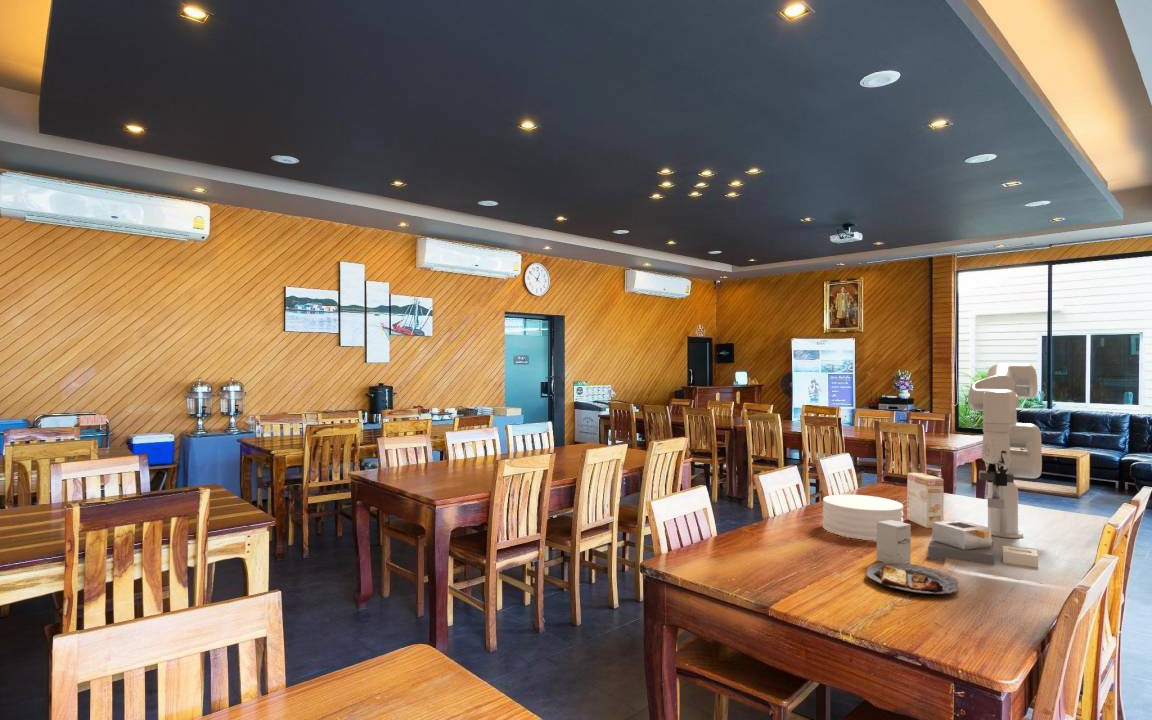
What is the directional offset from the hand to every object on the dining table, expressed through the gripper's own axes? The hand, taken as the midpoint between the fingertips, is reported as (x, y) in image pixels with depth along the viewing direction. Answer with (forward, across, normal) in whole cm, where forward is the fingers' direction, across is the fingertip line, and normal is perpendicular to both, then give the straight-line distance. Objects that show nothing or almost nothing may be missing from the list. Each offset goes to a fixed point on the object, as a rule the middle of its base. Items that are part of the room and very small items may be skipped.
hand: (996, 483), depth 203 cm
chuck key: (+8, 0, 0) cm, 8 cm away
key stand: (+25, +2, +6) cm, 26 cm away
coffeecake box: (+26, -49, -7) cm, 55 cm away
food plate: (+26, +30, -34) cm, 52 cm away
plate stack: (+26, -30, -34) cm, 52 cm away
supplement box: (+26, +9, -33) cm, 43 cm away
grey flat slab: (+25, -3, -9) cm, 27 cm away
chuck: (+21, -2, -9) cm, 23 cm away
